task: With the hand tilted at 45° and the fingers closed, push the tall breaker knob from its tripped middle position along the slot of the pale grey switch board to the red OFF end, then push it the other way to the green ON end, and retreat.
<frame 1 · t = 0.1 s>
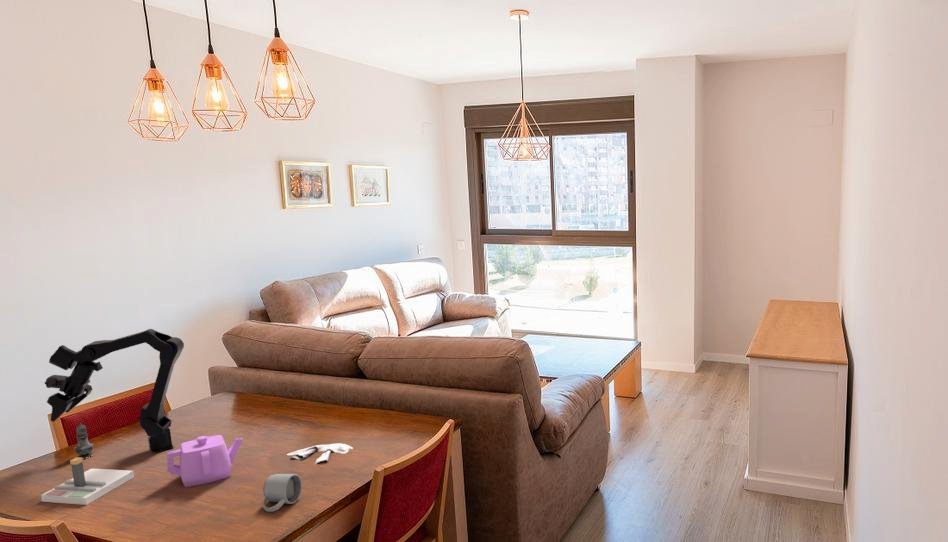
hand: (59, 416, 219), 15 cm above the table, tool tilted 35°, fingers open, 9 cm apart
breaker knob: (78, 472, 191), point 7 cm above the table, slide at 0.0 cm
teakettle: (208, 475, 200), on the table
cloth: (316, 457, 209), on the table
switch board: (81, 493, 192), on the table
grey statuette: (85, 457, 221), on the table
ceramic mug: (281, 504, 177), on the table
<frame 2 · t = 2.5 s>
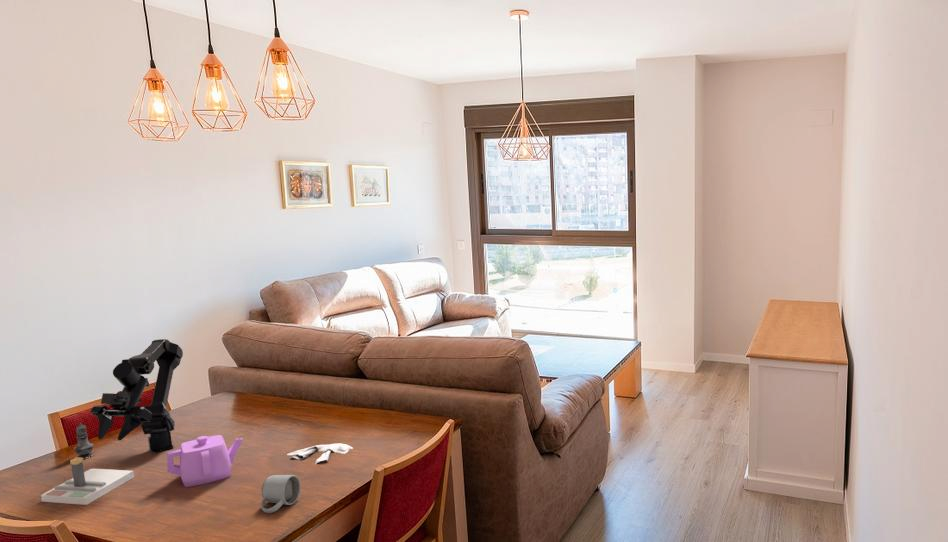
hand: (109, 439, 197), 14 cm above the table, tool tilted 45°, fingers open, 7 cm apart
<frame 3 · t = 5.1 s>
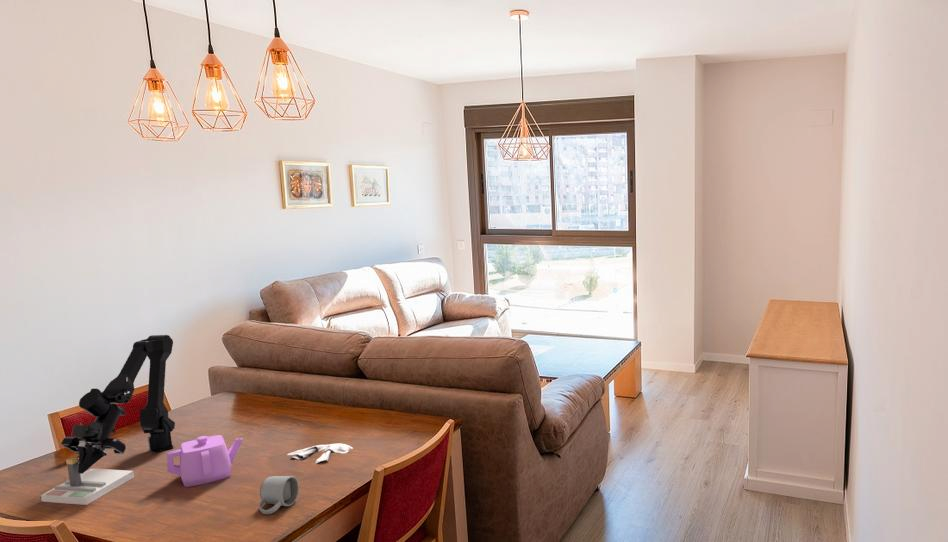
hand: (80, 473, 189), 7 cm above the table, tool tilted 45°, fingers closed
breaker knob: (74, 472, 191), point 6 cm above the table, slide at -1.5 cm, touching gripper
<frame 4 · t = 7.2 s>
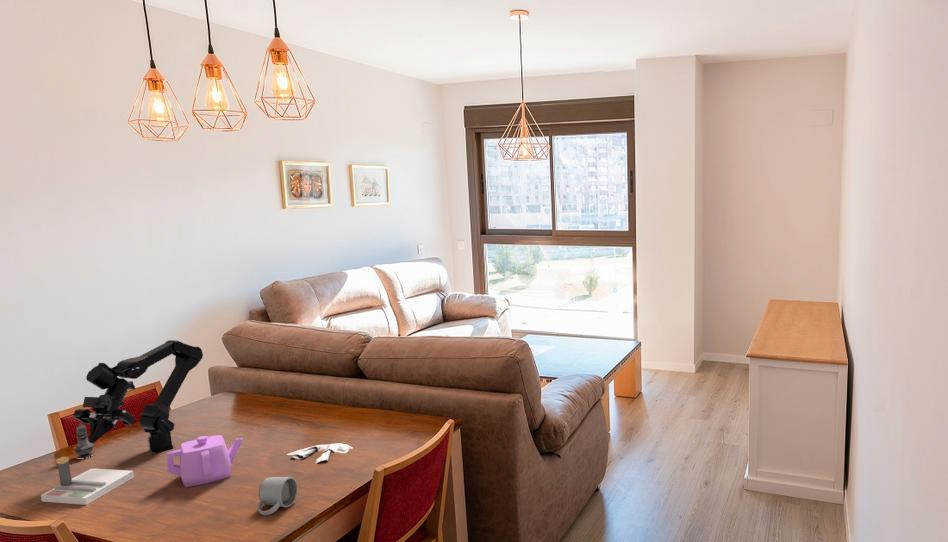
hand: (90, 442, 198), 13 cm above the table, tool tilted 45°, fingers closed
breaker knob: (64, 471, 192), point 6 cm above the table, slide at -5.0 cm
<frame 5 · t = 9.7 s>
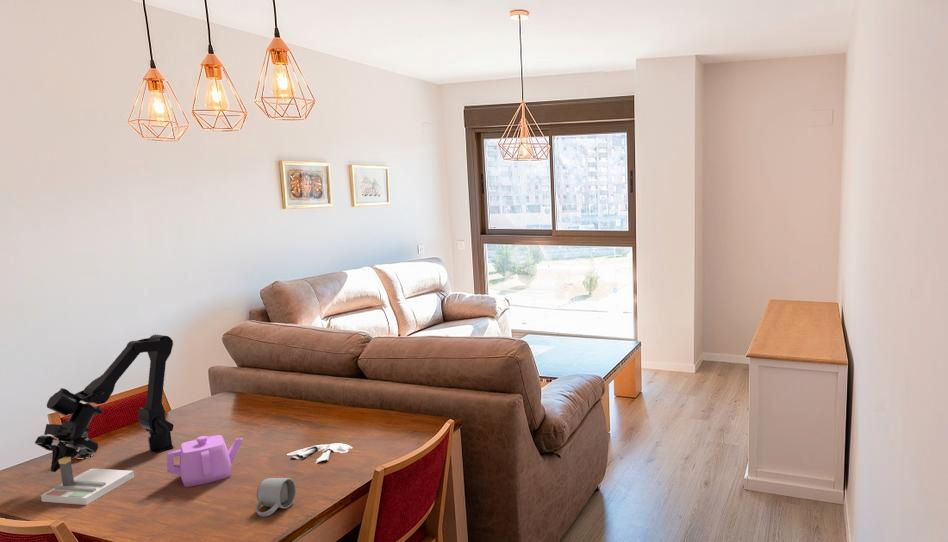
hand: (52, 471, 192), 7 cm above the table, tool tilted 45°, fingers closed
breaker knob: (66, 471, 192), point 7 cm above the table, slide at -4.2 cm, touching gripper
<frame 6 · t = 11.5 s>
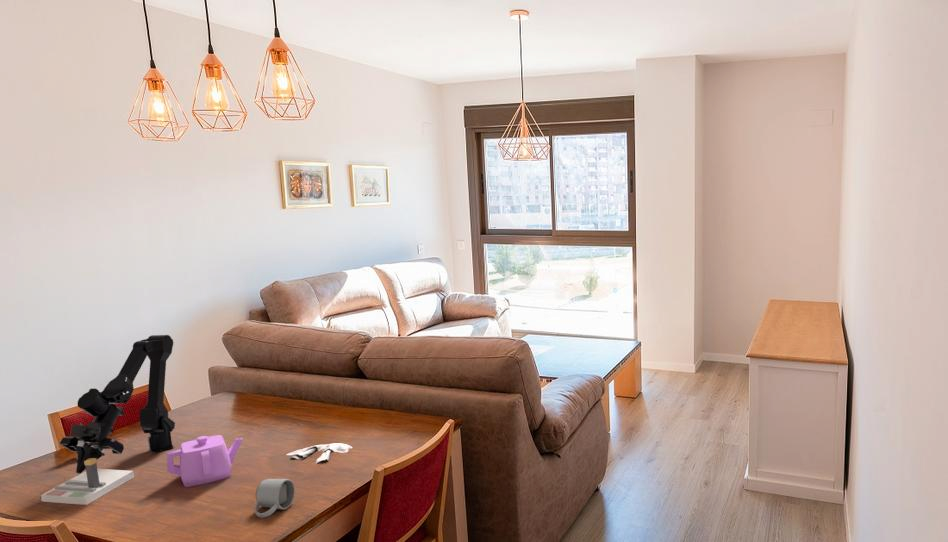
hand: (78, 473, 189), 7 cm above the table, tool tilted 45°, fingers closed
breaker knob: (92, 473, 190), point 7 cm above the table, slide at 5.1 cm, touching gripper
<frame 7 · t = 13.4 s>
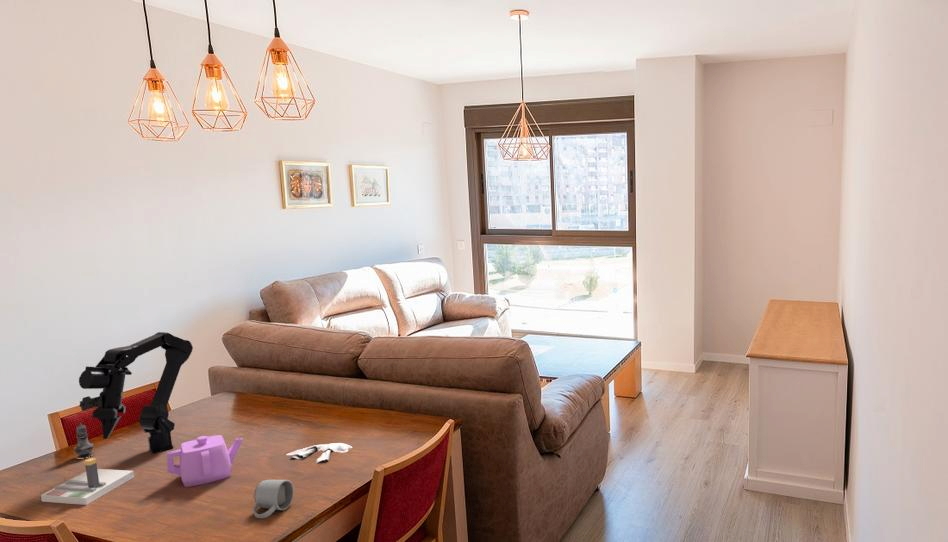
hand: (105, 438, 205), 11 cm above the table, tool tilted 15°, fingers closed
breaker knob: (92, 473, 190), point 6 cm above the table, slide at 5.0 cm
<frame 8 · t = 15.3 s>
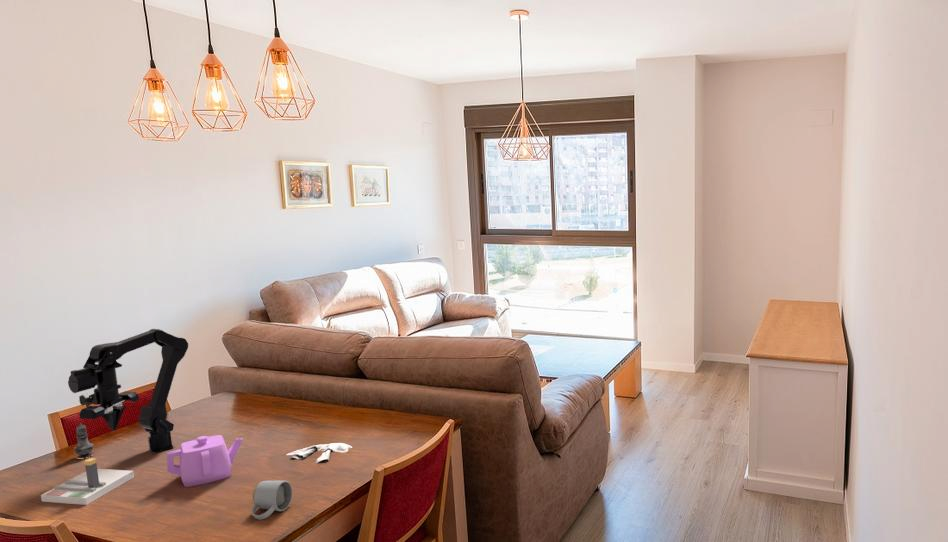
hand: (113, 430, 210), 12 cm above the table, tool pointing down, fingers closed
at the end: breaker knob slide at 5.0 cm; the gripper is holding nothing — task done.
